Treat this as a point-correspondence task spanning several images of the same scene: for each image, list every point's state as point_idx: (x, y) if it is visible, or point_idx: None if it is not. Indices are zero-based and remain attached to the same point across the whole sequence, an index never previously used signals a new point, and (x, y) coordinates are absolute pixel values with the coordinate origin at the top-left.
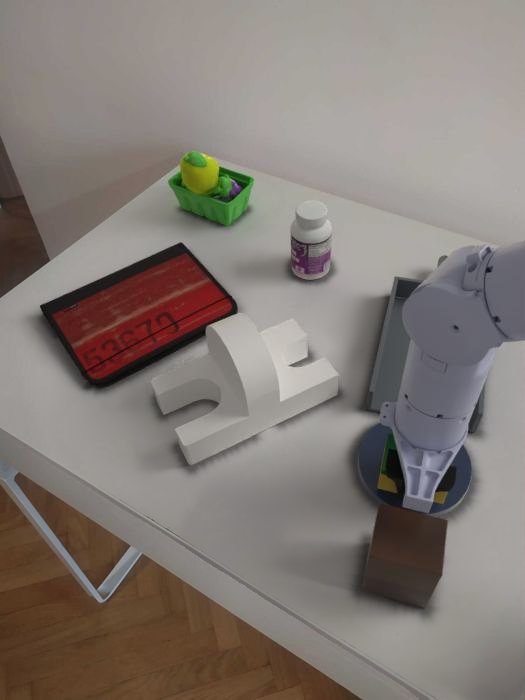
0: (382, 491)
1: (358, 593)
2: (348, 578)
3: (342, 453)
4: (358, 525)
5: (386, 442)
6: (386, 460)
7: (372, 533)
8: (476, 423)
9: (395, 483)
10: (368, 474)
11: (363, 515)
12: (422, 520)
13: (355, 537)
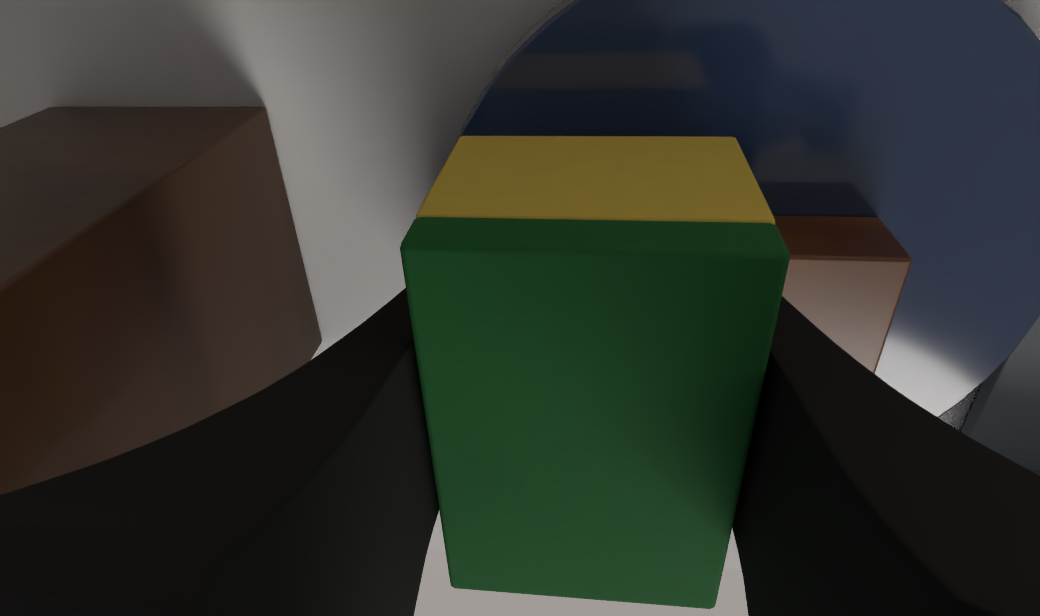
0: None
1: (32, 95)
2: (57, 36)
3: None
4: (320, 28)
5: (686, 251)
6: (4, 592)
7: (115, 177)
8: None
9: (284, 378)
10: (594, 39)
11: (384, 44)
12: None
13: (253, 26)
